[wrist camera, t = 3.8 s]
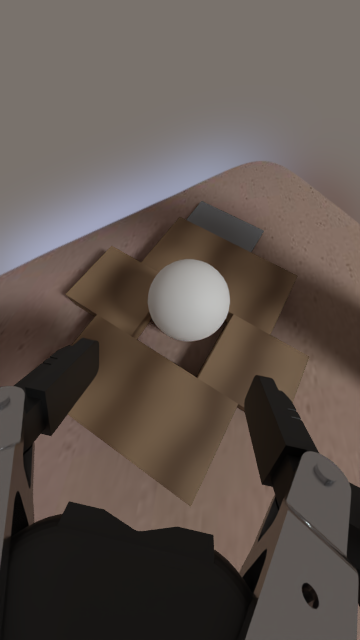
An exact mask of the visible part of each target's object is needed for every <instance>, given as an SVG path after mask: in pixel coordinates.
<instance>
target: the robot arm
mask: <svg viewBox="0 0 360 640" xmlns="http://www.w3.org/2000/svg"><path fill="white" fill-rule="evenodd" d="M98 369H99V342H98V341H96V340H91V339H86V338H81V339H80V340H79V341H78V342H77V343H75V344H74V345H73V346H70V345H69V346H66V347H64V348H62V349H59V350H58V351H56V352H55V353H54V354H53V355H51V356H50V358H48V359H46V360H45V361H44V362H43V364H40V365H39V366H38V367H37V368H35V369H34V370H33V371H32V372H30V373H29V374H28V375H27V376H25V377H24V378H23V379H22V380H20V381H19V382H18V383H17V384H15V385H14V386H4V387H0V640H357V613H358V604H359V606H360V488H359V487H357V486H355V485H353V484H351V483H349V482H348V480H347V478H346V476H345V475H344V474H343V472H342V471H341V470H340V469H339V468H338V467H337V466H336V465H335V464H334V463H333V462H332V461H331V460H329V459H328V458H326V457H325V456H323V455H321V454H319V452H318V450H317V448H316V446H315V445H314V443H313V441H312V439H311V437H310V435H309V433H308V431H307V429H306V428H305V426H304V424H303V422H302V420H300V419H301V418H300V416H299V414H298V412H296V409H295V407H294V405H293V403H292V401H291V400H290V399H289V397H288V396H287V395H286V394H285V393H284V392H283V391H280V390H278V388H277V386H276V384H275V381H274V380H273V378H269V377H264V376H260V375H255V377H254V378H253V381H252V383H251V385H250V388H249V390H248V393H247V395H246V397H245V402H244V410H245V415H246V419H247V423H248V428H249V432H250V436H251V440H252V445H253V449H254V453H255V457H256V462H257V466H258V470H259V474H260V479H261V483H262V485H267V486H271V487H273V489H274V492H275V496H274V497H273V499H272V501H271V503H270V506H269V508H268V511H267V513H266V515H265V518H264V520H263V523H262V525H261V528H260V530H259V532H258V535H257V537H256V540H255V542H254V544H253V547H252V549H251V551H250V553H249V554H248V556H247V558H246V560H245V562H244V564H243V566H242V568H241V570H240V572H239V573H238V571H237V570H236V569H235V568H234V567H233V565H232V564H231V563H230V562H229V561H228V560H227V559H226V558H224V557H223V556H222V555H221V554H220V553H219V552H217V551H216V550H214V540H213V535H211V534H206V533H202V532H198V531H194V530H189V529H185V528H181V527H171V528H164V529H156V530H149V531H136V530H134V529H132V528H131V527H129V526H128V525H126V524H125V523H123V522H122V521H120V520H119V519H117V518H116V517H114V516H113V515H111V514H110V513H108V512H107V511H105V510H104V509H99V508H95V507H91V506H86V505H82V504H78V503H73V502H69V503H68V505H67V507H66V509H65V511H64V513H63V514H59V515H55V516H51V517H47V518H45V519H42V520H40V521H37V522H35V523H34V505H33V476H34V450H35V443H34V441H35V440H36V439H37V437H38V436H39V435H40V434H45V435H49V436H52V434H53V433H54V432H55V430H56V429H57V428H58V426H59V425H60V424H61V422H62V421H63V420H64V418H65V417H66V416H67V414H68V413H69V412H70V410H71V409H72V408H73V406H74V405H75V404H76V402H77V401H78V400H79V398H80V397H81V396H82V394H83V393H84V392H85V390H86V389H87V388H88V386H89V385H90V384H91V382H92V381H93V380H94V378H95V377H96V375H97V373H98Z"/></svg>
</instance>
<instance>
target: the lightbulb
mask: <svg viewBox="0 0 360 640" xmlns="http://www.w3.org/2000/svg"><path fill="white" fill-rule="evenodd" d="M229 305H230V295H229V289H228V286H227V283H226V282H225V280H224V278H223V277H222V275H221V274H220V273H219V272H218V271H217V270H216V269H215V268H214V267H213V266H211V265H209V264H207V263H205V262H203V261H199V260H194V259H184V260H179V261H176V262H173V263H171V264H169V265H167V266H166V267H164V268H163V269H162V270H160V272H159V273H158V274H157V275H156V277H155V278H154V280H153V282H152V284H151V286H150V289H149V293H148V308H149V312H150V315H151V318H152V320H153V321H154V323H155V324H156V326H157V327H158V328H159V329H160V330H161V331H162V332H163V333H165V334H166V335H168V336H169V337H171V338H174V339H176V340H180V341H197V340H201V339H204V338H206V337H209V336H210V335H212V334H213V333H215V332H216V331H217V330H218V329H219V328H220V327H221V325H222V324H223V322H224V321H225V319H226V317H227V314H228V311H229Z"/></svg>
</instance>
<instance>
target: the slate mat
mask: <svg viewBox="0 0 360 640" xmlns="http://www.w3.org/2000/svg"><path fill="white" fill-rule="evenodd" d="M186 220H187V221H189V222H191V223H193V224H195V225H197V226H199V227H201V228H203V229H205V230H207V231H209V232H211V233H213V234H215V235H217V236H219V237H221V238H223V239H225V240H227V241H229V242H231V243H233V244H235V245H237V246H239V247H241V248H243V249H245V250H247V251H249V252H252V250H253V248H254V247H255V245H256V243H257V242H258V240H259V238H260V237H261V235H262V233H263V232H264V231H263V230H261V229H259V228H257V227H255V226H253V225H251V224H249V223H247V222H245V221H242V220H240V219H238V218H236V217H234V216H232V215H230V214H228V213H226V212H224V211H222V210H219V209H217V208H215V207H213V206H211V205H209V204H207V203H205V202H203V201H201V202H200V204H199V205H198V206H197V207H196V209H195V210H194V211H193V212H192V213H191V215H190V216H189V217H188V218H187V219H186Z"/></svg>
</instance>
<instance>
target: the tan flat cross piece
mask: <svg viewBox="0 0 360 640" xmlns="http://www.w3.org/2000/svg"><path fill="white" fill-rule="evenodd" d="M184 259H194V260H199V261H203V262H205V263H207V264H209V265H211V266H213V267H214V268H215V269H216V270H217V271H218V272H219V273H220V274H221V275H222V277H223V278H224V280H225V282H226V283H227V286H228V289H229V295H230V305H229V311H228V314H227V317H226V319H225V321H226V322H227V324H226V325H225V327H224V329H223V331H222V332H221V334H220V336H219V338H218V340H217V341H216V343H215V345H214V347H213V348H212V350H211V352H210V354H209V355H208V357H207V359H206V361H205V363H204V364H203V366H202V368H201V370H200V371H199V373H198V375H197V377H195V376H193V375H192V374H190V373H189V372H187V371H186V370H184V369H182V368H181V367H179V366H178V365H176V364H174V363H173V362H171V361H170V360H168V359H167V358H165V357H163V356H162V355H160V354H159V353H157V352H156V351H154V350H152V349H151V348H149V347H148V346H146V345H145V344H143V343H141V342H140V341H138V340H137V339H138V337H139V336H140V335H141V333H142V332H143V331H144V329H145V328H146V326H147V325H148V324H149V322H150V321H151V319H152V318H151V315H150V312H149V308H148V293H149V289H150V286H151V284H152V282H153V280H154V278H155V277H156V275H157V274H158V273H159V272H160V270H162V269H163V268H164V267H166V266H167V265H169V264H171V263H173V262H176V261H179V260H184ZM296 278H297V275H295V274H293V273H291V272H289V271H287V270H285V269H283V268H281V267H279V266H277V265H275V264H273V263H271V262H269V261H267V260H265V259H263V258H261V257H259V256H257V255H255V254H253V253H251V252H249V251H247V250H245V249H243V248H241V247H239V246H237V245H235V244H233V243H231V242H229V241H227V240H225V239H223V238H221V237H219V236H217V235H215V234H213V233H211V232H209V231H207V230H205V229H203V228H201V227H199V226H197V225H195V224H193V223H191V222H189V221H187V220H185V219H183V218H181V217H179V218H178V219H177V221H176V222H175V223H174V224H173V225H172V227H171V228H170V229H169V230H168V231H167V232H166V234H165V235H164V236H163V237H162V238H161V240H160V241H159V242H158V243H157V244H156V245H155V247H154V248H153V249H152V250H151V251H150V253H149V254H148V255H147V256H146V257H145V258H144V260H143V261H142V262H139V261H138V260H136V259H134V258H132V257H131V256H129V255H127V254H125V253H123V252H122V251H120V250H118V249H116V248H115V247H113V246H111V247H110V248H109V249H108V250H107V251H106V252H105V253H104V254H103V255H102V256H101V258H100V259H99V260H98V261H97V262H96V263H95V264H94V265H93V266H92V267H91V268H90V269H89V270H88V271H87V272H86V273H85V274H84V275H83V276H82V277H81V279H80V280H79V281H78V282H77V283H76V284H75V285H74V286H73V287H72V288H71V289H70V290H69V291H68V292H67V293H66V295H67V296H68V297H69V298H70V299H71V300H72V301H73V302H74V303H75V304H76V305H77V306H79V307H81V308H82V309H84V310H85V311H87V312H88V313H90V314H92V315H93V316H95V318H94V319H93V320H92V321H91V322H90V323H89V325H88V326H87V327H86V328H85V329H84V331H83V332H82V333H81V334H80V335H79V336H78V338H77V339H76V340H75V341H74V342H73V344H72V345H71V346H73V345H74V344H75V343H77V342H78V341H79V340H80V339H81V338H86V339H91V340H96V341H98V342H99V369H98V373H97V375H96V377H95V378H94V380H93V381H92V382H91V384H90V385H89V386H88V388H87V389H86V390H85V392H84V393H83V394H82V396H81V397H80V398H79V400H78V401H77V402H76V404H75V405H74V406H73V408H72V409H71V410H70V412H69V413H68V415H69V416H70V417H72V418H73V419H74V420H76V421H77V422H79V423H80V424H81V425H83V426H84V427H85V428H87V429H88V430H89V431H91V432H92V433H93V434H95V435H96V436H97V437H99V438H100V439H101V440H103V441H104V442H105V443H107V444H108V445H109V446H111V447H112V448H113V449H115V450H116V451H117V452H119V453H120V454H121V455H123V456H124V457H125V458H127V459H128V460H129V461H131V462H132V463H133V464H135V465H136V466H137V467H139V468H140V469H141V470H143V471H144V472H145V473H147V474H148V475H149V476H151V477H152V478H153V479H155V480H156V481H157V482H159V483H160V484H161V485H163V486H164V487H165V488H167V489H168V490H169V491H171V492H172V493H173V494H175V495H176V496H177V497H179V498H180V499H181V500H183V501H184V502H185V503H187V504H188V505H189V506H191V505H192V503H193V501H194V499H195V496H196V494H197V492H198V490H199V488H200V486H201V484H202V481H203V479H204V477H205V475H206V473H207V471H208V468H209V466H210V464H211V462H212V460H213V458H214V455H215V453H216V451H217V449H218V447H219V445H220V442H221V440H222V438H223V436H224V434H225V432H226V429H227V427H228V425H229V423H230V421H231V419H232V417H233V414H234V412H235V410H236V408H237V407H238V408H239V409H241V410H242V411H244V412H245V410H244V402H245V397H246V395H247V393H248V390H249V388H250V385H251V383H252V381H253V378H254V377H255V375H260V376H264V377H269V378H273V380H274V381H275V384H276V386H277V388H278V390H280V391H283V392H284V393H285V394H286V395H287V396H288V397H289V399H290V400H291V401H292V403H293V400H294V397H295V395H296V392H297V389H298V386H299V384H300V381H301V378H302V375H303V373H304V370H305V367H306V365H307V362H308V359H309V356H307V355H305V354H303V353H302V352H300V351H298V350H296V349H295V348H293V347H291V346H289V345H287V344H286V343H284V342H282V341H280V340H279V339H277V338H275V337H273V336H271V335H270V334H271V332H272V330H273V328H274V326H275V324H276V321H277V319H278V317H279V315H280V313H281V311H282V308H283V306H284V304H285V302H286V300H287V298H288V295H289V293H290V291H291V289H292V287H293V285H294V283H295V280H296Z"/></svg>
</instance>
